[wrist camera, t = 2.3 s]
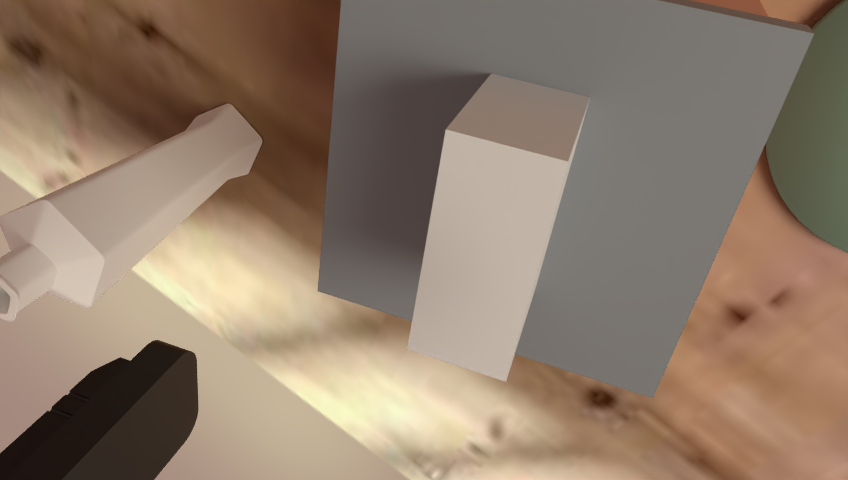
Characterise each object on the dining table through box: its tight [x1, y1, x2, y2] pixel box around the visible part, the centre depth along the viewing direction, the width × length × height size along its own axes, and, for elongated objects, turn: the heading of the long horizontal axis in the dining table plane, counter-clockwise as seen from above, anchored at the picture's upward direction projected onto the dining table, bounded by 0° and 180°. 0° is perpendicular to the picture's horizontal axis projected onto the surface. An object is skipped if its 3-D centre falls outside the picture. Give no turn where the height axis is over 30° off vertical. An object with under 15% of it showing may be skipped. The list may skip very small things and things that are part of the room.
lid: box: [318, 0, 814, 398], centre depth 21 cm, size 13×13×7 cm
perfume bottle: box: [0, 103, 262, 321], centre depth 30 cm, size 5×4×15 cm
